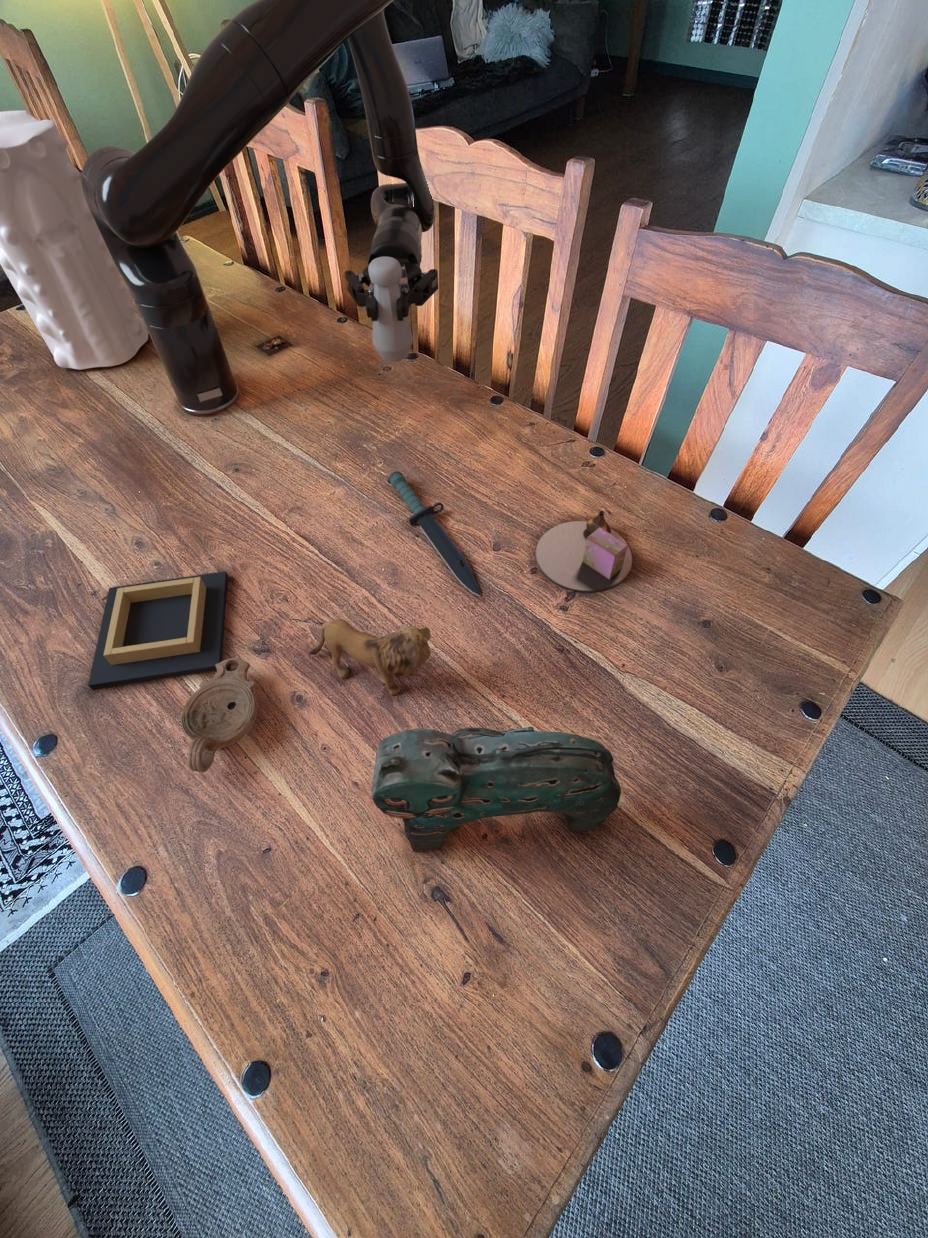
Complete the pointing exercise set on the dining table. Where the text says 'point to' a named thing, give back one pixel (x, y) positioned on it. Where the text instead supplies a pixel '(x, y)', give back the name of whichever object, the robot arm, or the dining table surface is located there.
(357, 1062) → the dining table surface
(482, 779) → the ceramic cat
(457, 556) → the knife
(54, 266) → the vase
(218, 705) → the oil lamp
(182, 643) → the pad
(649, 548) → the dining table surface
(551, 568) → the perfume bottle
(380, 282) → the salt shaker
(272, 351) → the diorama
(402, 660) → the lion figurine
